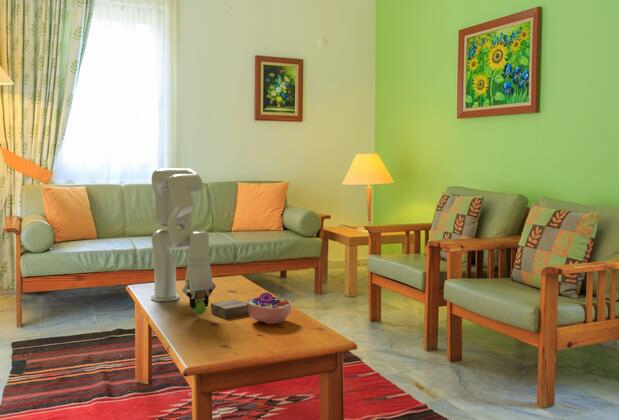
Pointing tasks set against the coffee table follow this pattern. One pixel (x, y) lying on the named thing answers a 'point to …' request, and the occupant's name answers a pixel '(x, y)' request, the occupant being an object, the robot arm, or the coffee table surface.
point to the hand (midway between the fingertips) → (199, 306)
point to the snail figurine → (199, 302)
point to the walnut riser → (229, 308)
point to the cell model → (269, 308)
